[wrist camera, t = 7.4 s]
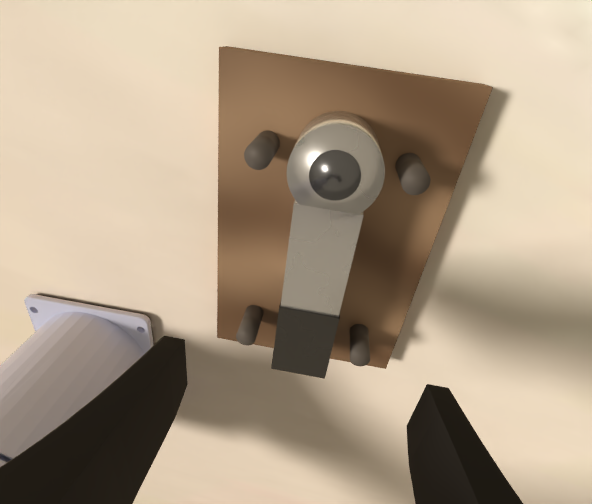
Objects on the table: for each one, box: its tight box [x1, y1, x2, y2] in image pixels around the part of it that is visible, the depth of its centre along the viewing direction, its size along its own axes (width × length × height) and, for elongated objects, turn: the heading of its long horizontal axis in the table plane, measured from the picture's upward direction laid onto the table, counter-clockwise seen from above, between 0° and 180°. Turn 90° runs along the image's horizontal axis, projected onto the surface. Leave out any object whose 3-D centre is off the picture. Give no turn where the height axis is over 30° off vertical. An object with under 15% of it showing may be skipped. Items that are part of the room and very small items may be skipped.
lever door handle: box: [271, 111, 385, 378], centre depth 16 cm, size 12×3×3 cm, turn 173°
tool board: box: [217, 46, 493, 369], centre depth 16 cm, size 15×10×3 cm, turn 173°
